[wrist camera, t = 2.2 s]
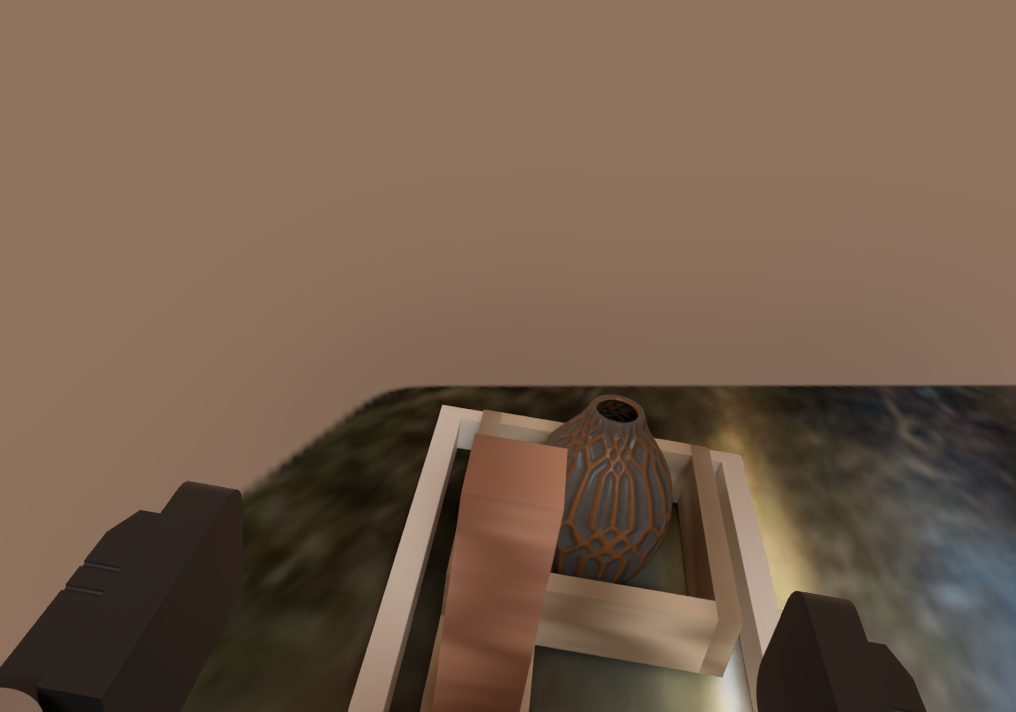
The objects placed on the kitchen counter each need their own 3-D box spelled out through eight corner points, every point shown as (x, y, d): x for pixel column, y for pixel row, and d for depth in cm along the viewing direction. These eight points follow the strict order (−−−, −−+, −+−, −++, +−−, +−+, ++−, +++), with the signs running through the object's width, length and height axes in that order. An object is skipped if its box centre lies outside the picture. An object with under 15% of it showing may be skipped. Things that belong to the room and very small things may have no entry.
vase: (510, 504, 42) (535, 359, 38) (640, 516, 43) (680, 375, 39) (512, 606, 36) (543, 449, 32) (663, 619, 37) (714, 466, 33)
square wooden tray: (693, 494, 45) (756, 297, 39) (741, 804, 29) (856, 559, 23) (476, 457, 45) (505, 256, 39) (413, 746, 30) (444, 489, 24)
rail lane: (731, 483, 46) (741, 455, 45) (821, 893, 27) (841, 861, 26) (439, 433, 47) (442, 404, 46) (328, 806, 28) (329, 770, 27)
